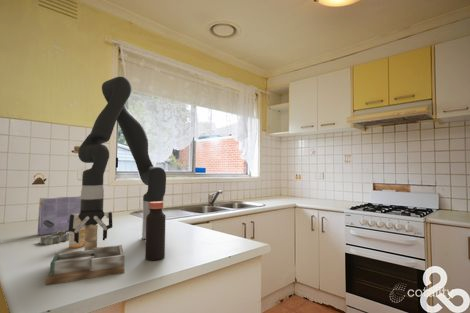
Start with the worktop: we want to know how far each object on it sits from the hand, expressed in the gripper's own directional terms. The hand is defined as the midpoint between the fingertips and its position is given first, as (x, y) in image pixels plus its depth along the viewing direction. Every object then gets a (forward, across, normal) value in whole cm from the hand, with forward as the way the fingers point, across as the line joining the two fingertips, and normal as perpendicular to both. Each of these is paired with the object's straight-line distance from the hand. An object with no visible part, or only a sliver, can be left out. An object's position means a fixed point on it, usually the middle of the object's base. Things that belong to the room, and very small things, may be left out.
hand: (90, 241), depth 97 cm
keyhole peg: (+5, 0, 0) cm, 5 cm away
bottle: (+5, -21, +13) cm, 25 cm away
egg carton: (+6, +14, -28) cm, 32 cm away
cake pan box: (+5, +15, -49) cm, 52 cm away
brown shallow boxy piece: (+5, 0, +15) cm, 16 cm away
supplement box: (+5, +4, -17) cm, 18 cm away
